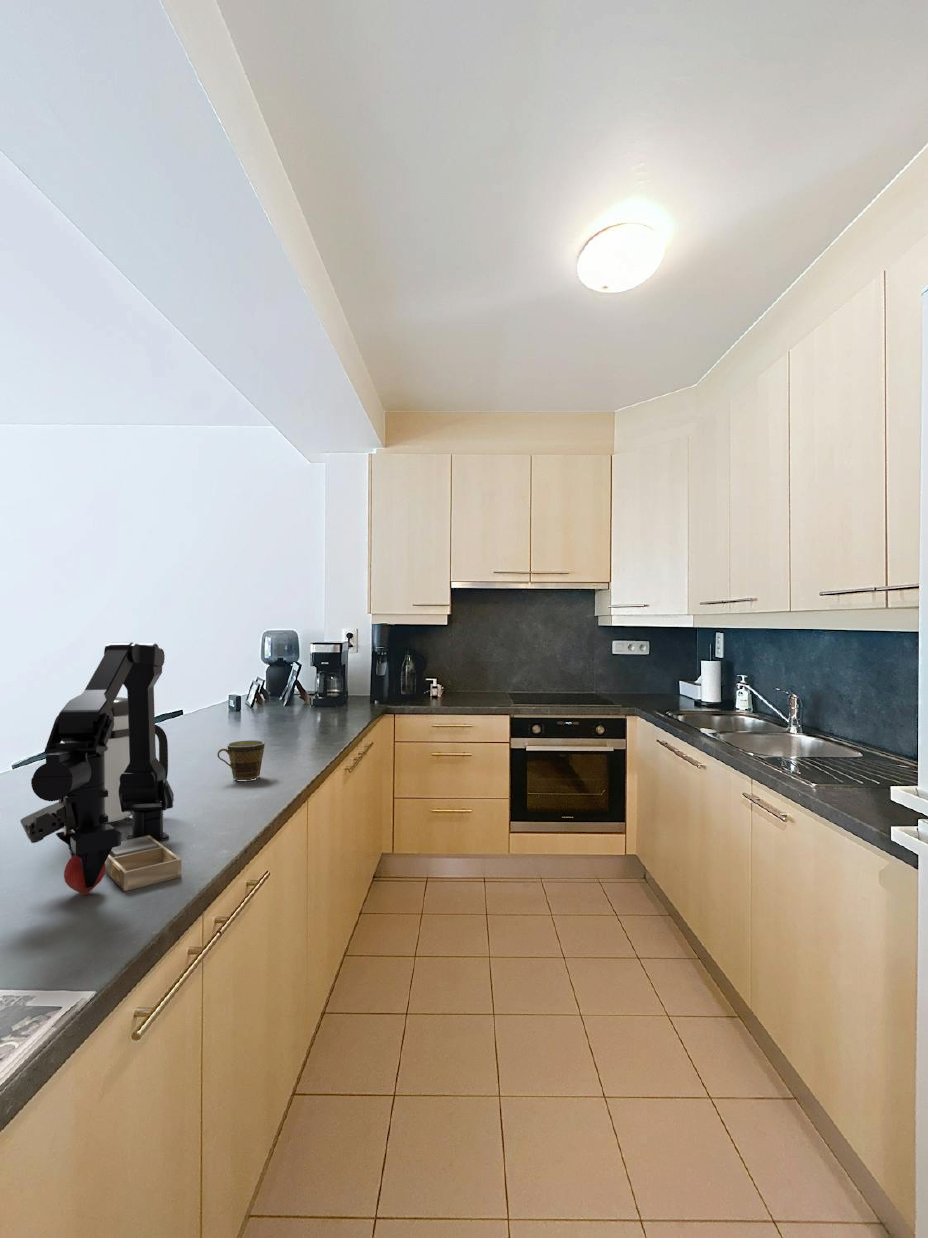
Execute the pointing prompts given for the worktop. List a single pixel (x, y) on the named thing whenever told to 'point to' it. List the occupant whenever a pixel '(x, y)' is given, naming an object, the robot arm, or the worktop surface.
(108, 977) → the worktop surface
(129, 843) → the wooden compartment tray
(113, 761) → the coffee press
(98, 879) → the red rounded piece
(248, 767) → the ceramic cup
